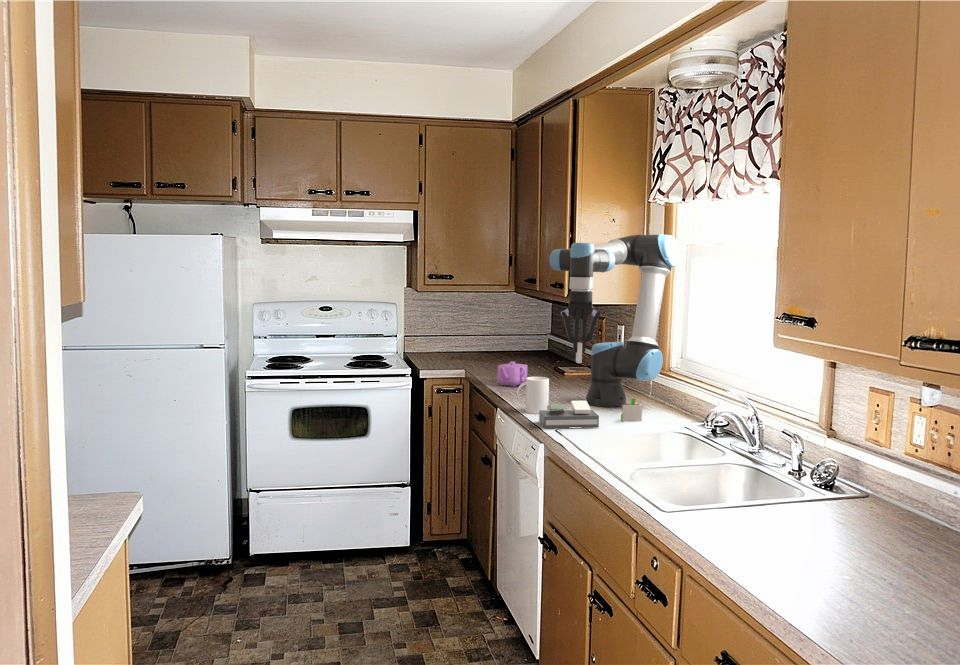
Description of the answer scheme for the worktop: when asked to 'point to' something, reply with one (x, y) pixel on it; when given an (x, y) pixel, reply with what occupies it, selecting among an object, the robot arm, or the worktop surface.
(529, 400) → the mug
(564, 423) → the switch panel
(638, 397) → the worktop surface
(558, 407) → the rocker green
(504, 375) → the teapot
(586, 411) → the rocker cream
